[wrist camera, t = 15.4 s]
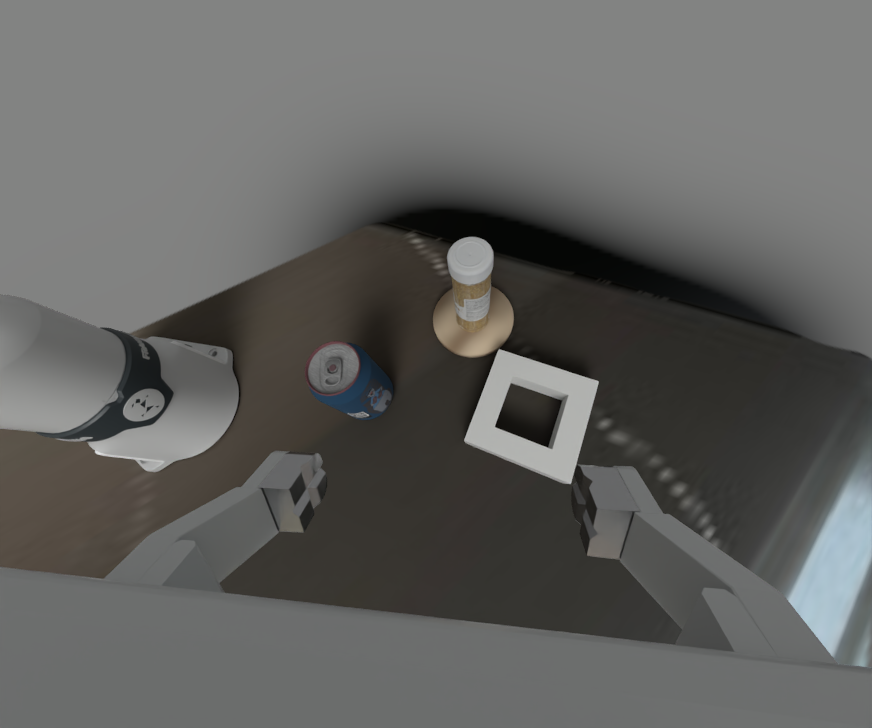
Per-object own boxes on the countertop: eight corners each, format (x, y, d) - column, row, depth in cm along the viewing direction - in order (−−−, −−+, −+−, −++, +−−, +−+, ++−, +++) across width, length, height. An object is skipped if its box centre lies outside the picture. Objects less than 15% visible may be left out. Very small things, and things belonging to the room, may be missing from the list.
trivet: (422, 342, 44) (420, 339, 43) (451, 279, 47) (450, 274, 46) (497, 368, 41) (497, 365, 40) (523, 299, 44) (524, 294, 43)
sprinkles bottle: (454, 307, 44) (443, 239, 31) (486, 301, 44) (489, 230, 31) (458, 336, 42) (450, 277, 30) (492, 330, 42) (498, 268, 30)
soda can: (347, 373, 44) (302, 339, 33) (395, 369, 43) (366, 332, 32) (345, 423, 42) (295, 404, 30) (396, 419, 41) (364, 398, 30)
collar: (465, 442, 39) (464, 440, 36) (497, 357, 42) (498, 349, 39) (563, 483, 36) (570, 484, 33) (590, 388, 39) (598, 381, 36)
